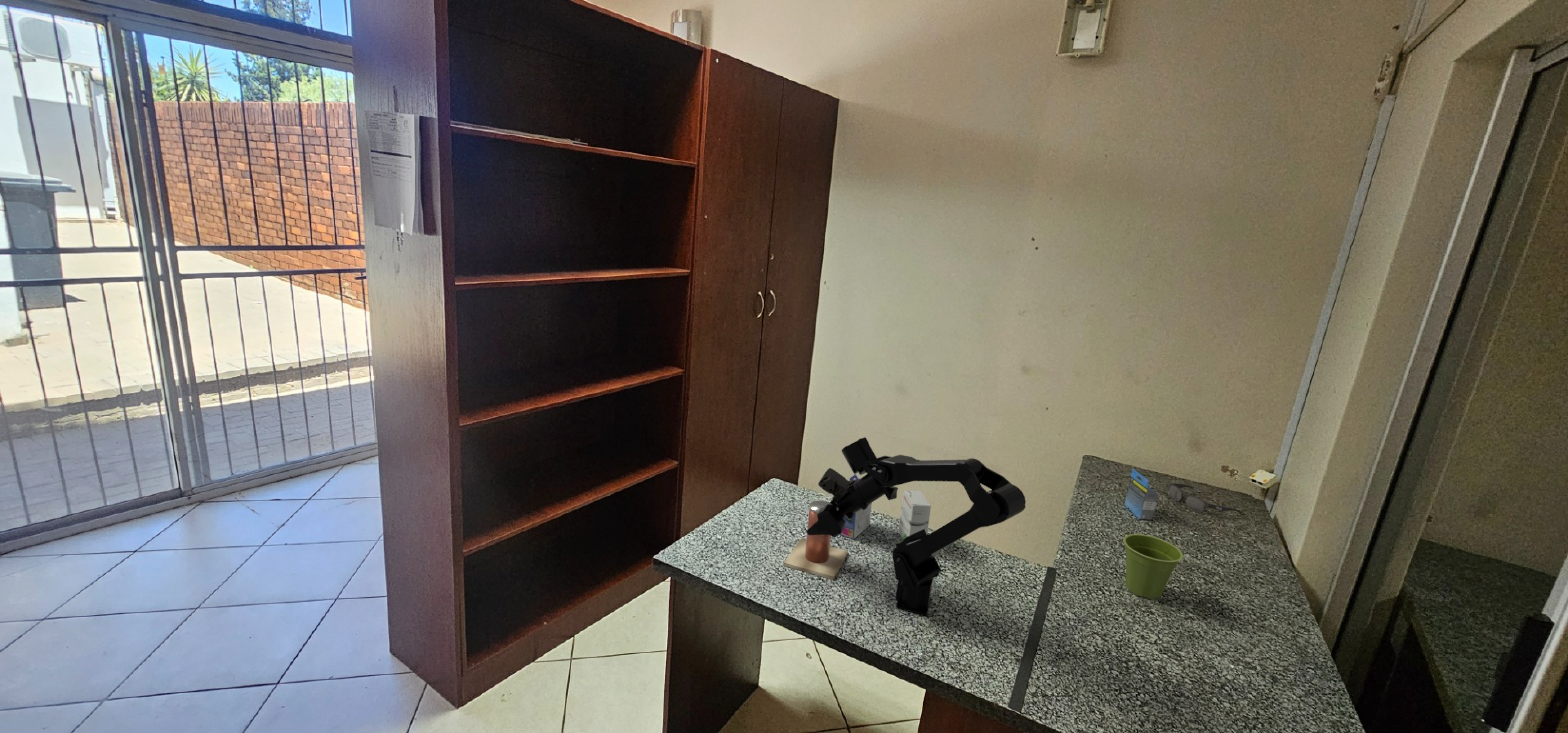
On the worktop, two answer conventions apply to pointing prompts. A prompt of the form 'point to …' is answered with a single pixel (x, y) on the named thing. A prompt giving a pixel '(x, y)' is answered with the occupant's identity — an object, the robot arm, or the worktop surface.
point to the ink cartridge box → (857, 520)
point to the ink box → (913, 513)
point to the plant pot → (1149, 564)
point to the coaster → (821, 569)
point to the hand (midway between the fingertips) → (813, 524)
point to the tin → (817, 537)
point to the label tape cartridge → (1140, 497)
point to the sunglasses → (1193, 499)
